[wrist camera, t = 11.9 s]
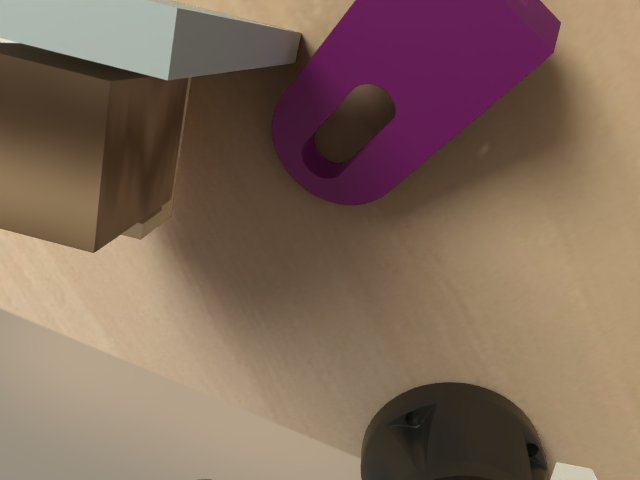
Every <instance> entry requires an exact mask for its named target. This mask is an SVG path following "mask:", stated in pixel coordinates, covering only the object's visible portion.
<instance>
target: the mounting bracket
mask: <svg viewBox="0 0 640 480" xmlns="http://www.w3.org/2000/svg"><path fill="white" fill-rule="evenodd" d="M560 25H561V22H560V21H559V20H558V19H557V18H556V17H555V16H554V15H553V14H552V13H551V11H550V10H549V9H548V8H547V7H546V6H545V5H544V4H543V3H542V2H541V1H540V0H356V1H355V2H354V3H353V5H352V6H351V7H350V8H349V10H348V11H347V12H346V14H345V15H344V16H343V18H342V19H341V20H340V21H339V23H338V24H337V25H336V27H335V28H334V29H333V31H332V32H331V33H330V34H329V36H328V37H327V38H326V40H325V41H324V42H323V44H322V45H321V46H320V47H319V49H318V50H317V51H316V53H315V54H314V55H313V57H312V58H311V59H310V60H309V62H308V63H307V64H306V66H305V67H304V68H303V70H302V71H301V72H300V73H299V75H298V76H297V77H296V79H295V80H294V81H293V83H292V84H291V85H290V86H289V88H288V89H287V90H286V92H285V93H284V94H283V96H282V97H281V99H280V100H279V102H278V104H277V106H276V108H275V111H274V115H273V120H272V136H273V142H274V146H275V149H276V152H277V154H278V156H279V159H280V161H281V162H282V164H283V166H284V167H285V169H286V170H287V172H288V173H289V174H290V175H291V176H292V178H293V179H294V180H295V181H296V182H297V183H298V184H300V185H301V186H302V187H303V188H305V189H306V190H307V191H309V192H310V193H312V194H314V195H315V196H317V197H319V198H322V199H324V200H326V201H329V202H333V203H337V204H343V205H360V204H365V203H369V202H372V201H374V200H377V199H379V198H380V197H382V196H384V195H385V194H386V193H388V192H389V191H390V190H391V189H392V188H394V187H395V186H396V185H397V184H398V183H399V182H401V181H402V180H403V179H404V178H405V177H407V176H408V175H409V174H410V173H411V172H413V171H414V170H415V169H416V168H417V167H418V166H420V165H421V164H422V163H423V162H424V161H426V160H427V159H428V158H429V157H430V156H432V155H433V154H434V153H435V152H436V151H437V150H439V149H440V148H441V147H442V146H443V145H445V144H446V143H447V142H448V141H449V140H451V139H452V138H453V137H454V136H455V135H457V134H458V133H459V132H460V131H461V130H462V129H464V128H465V127H466V126H467V125H468V124H470V123H471V122H472V121H473V120H474V119H476V118H477V117H478V116H479V115H480V114H481V113H483V112H484V111H485V110H486V109H487V108H489V107H490V106H491V105H492V104H493V103H495V102H496V101H497V100H498V99H499V98H500V97H502V96H503V95H504V94H505V93H506V92H508V91H509V90H510V89H511V88H512V87H514V86H515V85H516V84H517V83H518V82H519V81H521V80H522V79H523V78H524V77H525V76H527V75H528V74H529V73H530V72H531V71H533V70H534V69H535V68H536V67H537V66H538V65H540V64H541V63H542V62H543V61H544V60H546V59H547V58H548V57H549V56H550V55H552V54H553V53H554V49H555V45H556V41H557V37H558V33H559V29H560ZM363 84H373V85H377V86H379V87H381V88H383V89H384V90H385V91H386V92H387V93H388V94H389V95H390V96H391V98H392V99H393V102H394V104H395V110H396V113H395V117H394V118H393V119H392V120H391V121H390V122H389V123H388V124H387V125H386V126H385V127H384V128H383V129H382V130H381V131H380V132H379V133H377V134H376V135H375V136H374V137H373V138H372V139H371V140H370V141H369V142H368V143H367V144H366V145H365V146H364V147H363V148H362V149H361V150H360V151H359V152H358V153H357V154H356V155H355V156H354V157H353V158H352V159H351V160H350V161H348V162H346V163H343V164H334V163H331V162H328V161H327V160H325V159H324V158H322V157H321V156H320V155H319V153H318V152H317V150H316V148H315V145H314V134H315V132H316V130H317V129H318V128H319V127H320V126H321V125H322V123H323V122H324V121H325V120H326V119H327V118H328V117H329V116H330V114H331V113H332V112H333V111H334V110H335V109H336V108H337V107H338V105H339V104H340V103H341V102H342V101H343V100H344V99H345V98H346V97H347V95H348V94H349V93H350V92H351V91H352V90H353V89H354V88H355V87H357V86H359V85H363Z"/></svg>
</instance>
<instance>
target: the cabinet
mask: <svg viewBox="0 0 640 480" xmlns="http://www.w3.org/2000/svg"><path fill="white" fill-rule="evenodd" d="M188 79H189V78H182V79H174V80H164V79H160V78H156V77H152V76H148V75H144V74H140V73H137V72H133V71H129V70H125V69H121V68H117V67H113V66H109V65H105V64H101V63H97V62H93V61H89V60H85V59H81V58H77V57H73V56H69V55H65V54H62V53H58V52H54V51H50V50H46V49H42V48H38V47H34V46H30V45H26V44H22V43H0V229H4V230H8V231H12V232H16V233H19V234H23V235H27V236H31V237H35V238H39V239H42V240H46V241H50V242H54V243H58V244H61V245H65V246H69V247H73V248H77V249H80V250H84V251H88V252H92V253H95V252H96V251H97V250H99V249H100V248H102V247H103V246H105V245H106V244H108V243H109V242H110V241H112V240H113V239H115V238H116V237H118V236H119V235H121V234H122V233H123V232H125V231H126V230H128V229H129V228H131V227H132V226H134V225H135V224H136V223H138V222H139V221H141V220H142V219H144V218H145V217H147V216H148V215H149V214H151V213H152V212H154V211H155V210H157V209H158V208H160V207H161V206H162V205H164V204H165V203H167V202H168V201H170V200H171V198H172V191H173V184H174V177H175V170H176V163H177V156H178V149H179V142H180V135H181V128H182V121H183V114H184V107H185V100H186V93H187V86H188Z"/></svg>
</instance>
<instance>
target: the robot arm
mask: <svg viewBox="0 0 640 480" xmlns="http://www.w3.org/2000/svg"><path fill="white" fill-rule="evenodd" d="M361 478H362V480H548V468H547V462H546V457H545V453H544V450H543V448H542V445H541V443H540V440H539V437H538V435H537V432H536V430H535V428H534V426H533V425H532V423H531V422H530V420H529V419H528V417H527V416H526V415H525V414H524V413H523V412H522V411H521V410H520V409H519V408H518V407H517V406H516V405H515V404H514V403H512V402H511V401H510V400H508V399H506V398H505V397H503V396H501V395H500V394H498V393H495V392H493V391H491V390H488V389H486V388H483V387H479V386H475V385H471V384H465V383H435V384H429V385H424V386H421V387H417V388H414V389H412V390H409V391H407V392H404V393H402V394H401V395H399V396H397V397H395V398H394V399H392V400H391V401H390V402H388V403H387V404H386V405H385V406H384V407H382V408H381V409H380V410H379V412H378V413H377V414H376V415H375V416H374V418H373V419H372V421H371V422H370V424H369V426H368V428H367V430H366V433H365V435H364V439H363V443H362V453H361ZM198 480H210V479H198ZM550 480H597V478H596V476H595V474H594V472H593V471H592V469H589V468H584V467H579V466H574V465H569V464H564V463H559V462H556V465H555V468H554V471H553V474H552V476H551V479H550Z"/></svg>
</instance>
